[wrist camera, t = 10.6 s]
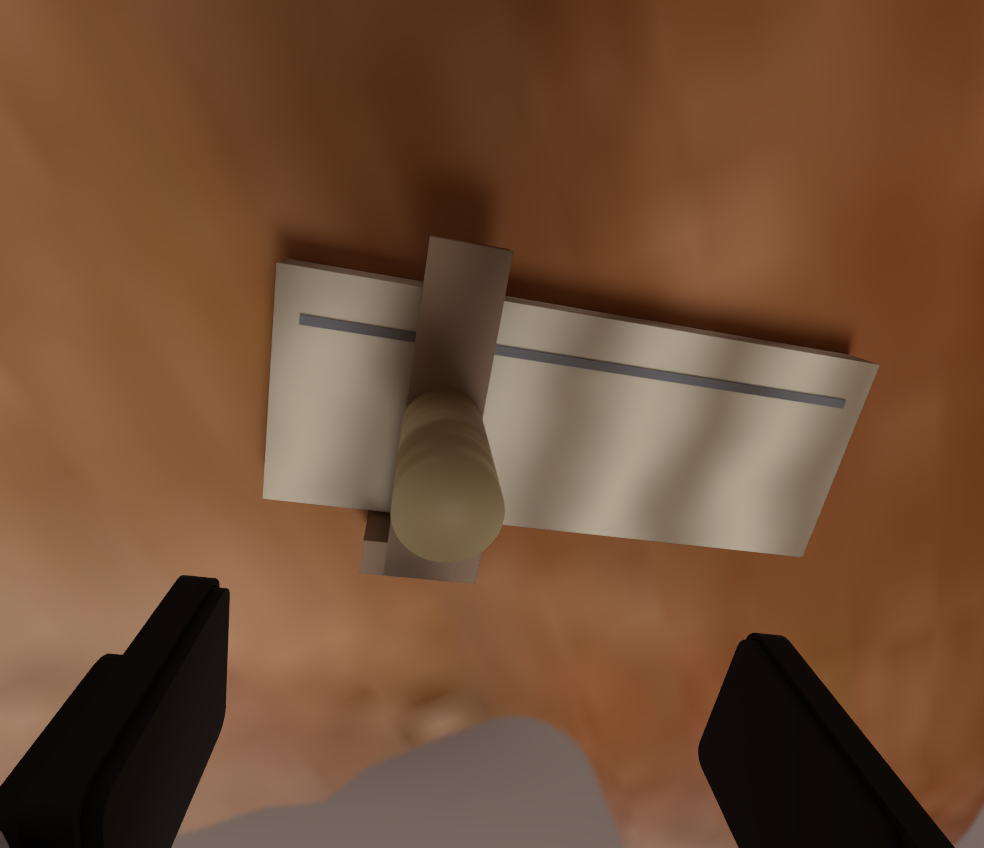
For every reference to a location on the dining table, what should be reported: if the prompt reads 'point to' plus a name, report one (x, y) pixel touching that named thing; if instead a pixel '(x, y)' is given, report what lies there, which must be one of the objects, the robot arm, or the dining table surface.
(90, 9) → the dining table surface
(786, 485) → the birch board
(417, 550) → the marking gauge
